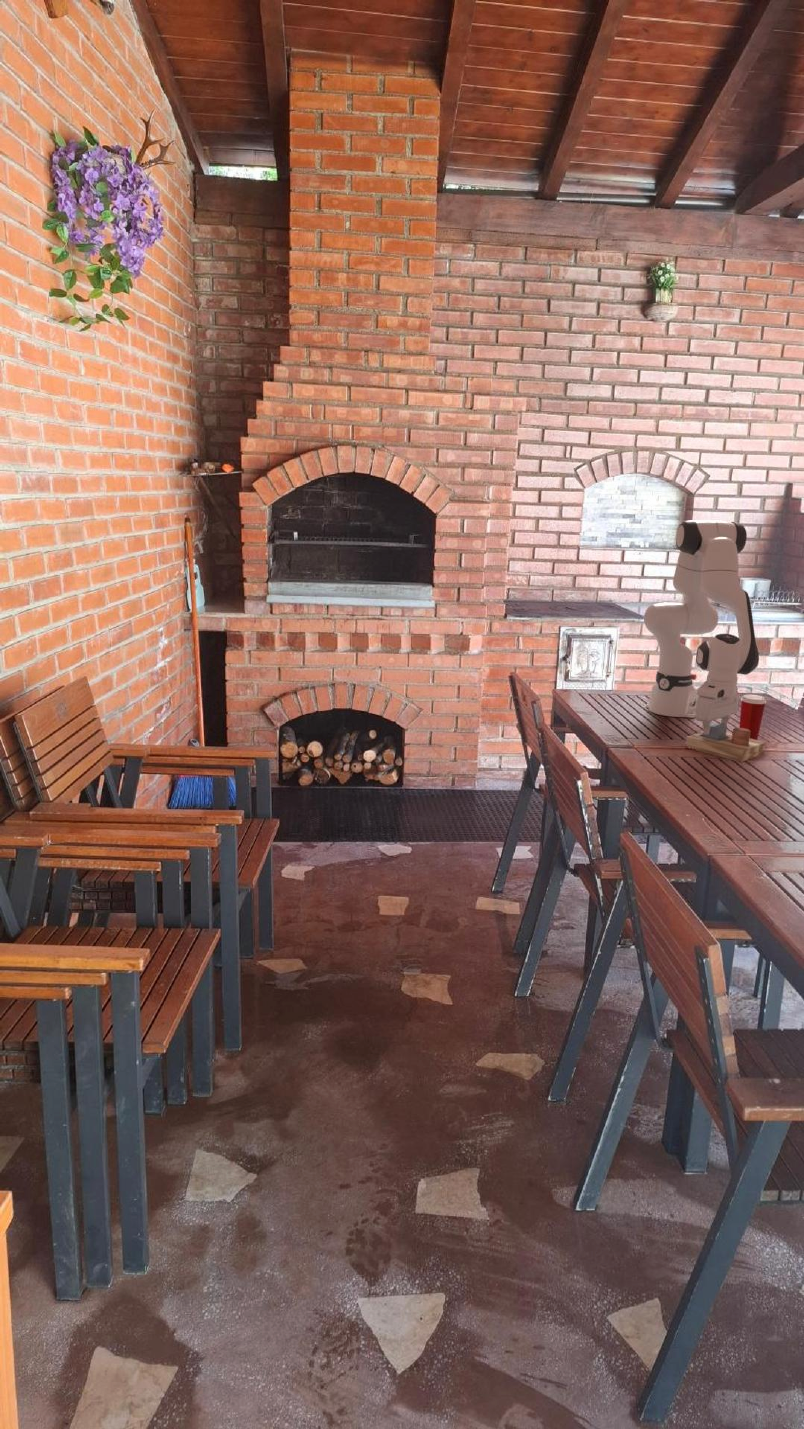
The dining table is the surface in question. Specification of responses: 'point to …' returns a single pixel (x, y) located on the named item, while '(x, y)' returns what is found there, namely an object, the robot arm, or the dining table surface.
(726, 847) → the dining table surface
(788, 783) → the dining table surface
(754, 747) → the assembly board
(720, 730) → the slate block
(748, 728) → the paper cup
